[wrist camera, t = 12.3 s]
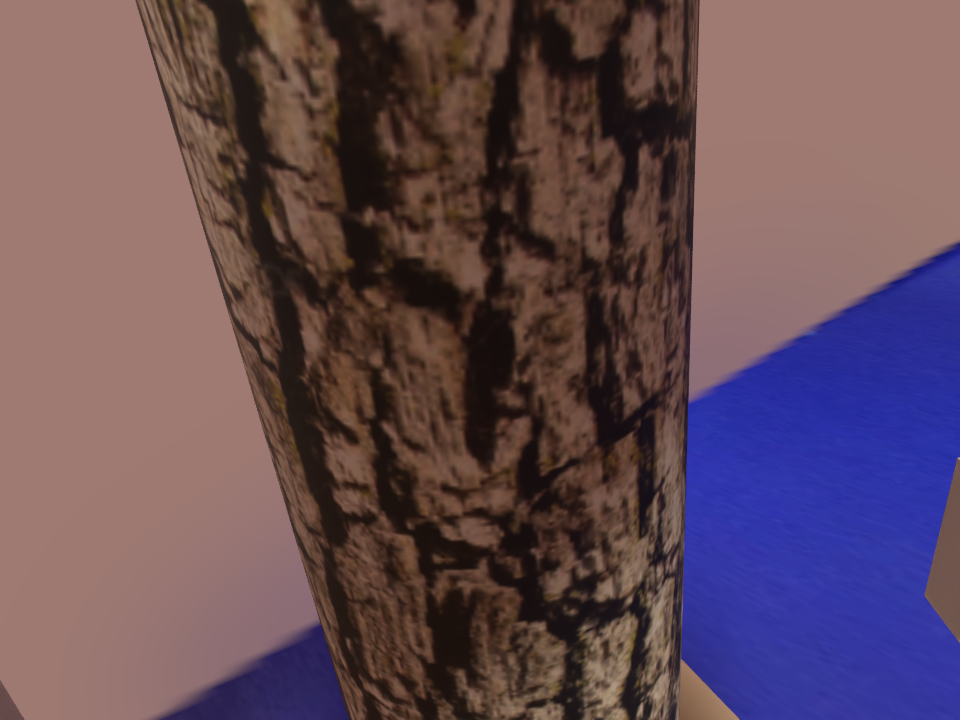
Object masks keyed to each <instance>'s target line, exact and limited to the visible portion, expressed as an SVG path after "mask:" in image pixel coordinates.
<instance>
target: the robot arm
mask: <svg viewBox="0 0 960 720" xmlns="http://www.w3.org/2000/svg"><path fill="white" fill-rule="evenodd" d="M924 596H925V597H926V599H927V600H928V601H929V603H930V604H931V605H932V607H933V608H934V609H935V611H936V612H937V613H938V615H939V616H940V617H941V619H942V620H943V621H944V623H945V624H946V625H947V627H948V628H949V629H950V631H951V632H952V633H953V635H954V636H955V637H956V639H957V640H958V641H959V643H960V458H957V462H956V466H955V470H954V474H953V479H952V483H951V487H950V491H949V495H948V499H947V504H946V508H945V512H944V516H943V520H942V524H941V529H940V533H939V537H938V541H937V545H936V549H935V554H934V558H933V562H932V566H931V570H930V574H929V579H928V583H927V587H926V591H925V595H924ZM0 720H24V718H23V717H22V715H21V714H20V712H19V710H18V709H17V707H16V705H15V704H14V702H13V701H12V699H11V697H10V695H9V694H8V692H7V691H6V689H5V688H4V686H3V684H2V682H1V681H0Z"/></svg>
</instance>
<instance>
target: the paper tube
mask: <svg viewBox="0 0 960 720" xmlns="http://www.w3.org/2000/svg"><path fill="white" fill-rule="evenodd" d="M699 2H700V0H136V3H137V7H138V10H139V13H140V17H141V20H142V23H143V26H144V30H145V33H146V37H147V40H148V44H149V47H150V50H151V54H152V57H153V60H154V64H155V67H156V71H157V73H158V77H159V81H160V84H161V87H162V91H163V94H164V98H165V101H166V104H167V108H168V111H169V114H170V118H171V121H172V124H173V128H174V130H175V135H176V138H177V141H178V145H179V148H180V151H181V155H182V158H183V161H184V165H185V168H186V171H187V175H188V178H189V182H190V185H191V188H192V191H193V195H194V198H195V201H196V205H197V208H198V212H199V215H200V219H201V222H202V225H203V229H204V232H205V235H206V239H207V242H208V246H209V249H210V252H211V255H212V259H213V262H214V266H215V269H216V272H217V276H218V279H219V282H220V286H221V289H222V293H223V296H224V299H225V303H226V306H227V310H228V313H229V316H230V320H231V323H232V326H233V330H234V333H235V336H236V340H237V343H238V346H239V350H240V353H241V357H242V360H243V363H244V367H245V370H246V374H247V377H248V380H249V384H250V387H251V390H252V393H253V397H254V401H255V404H256V407H257V411H258V414H259V417H260V421H261V424H262V427H263V431H264V434H265V438H266V441H267V444H268V448H269V451H270V454H271V458H272V461H273V464H274V468H275V471H276V475H277V478H278V481H279V485H280V488H281V491H282V495H283V498H284V502H285V505H286V508H287V511H288V515H289V518H290V521H291V525H292V528H293V532H294V535H295V538H296V542H297V545H298V549H299V552H300V555H301V559H302V562H303V565H304V569H305V572H306V575H307V579H308V582H309V586H310V589H311V592H312V596H313V599H314V602H315V606H316V609H317V613H318V616H319V619H320V623H321V626H322V629H323V633H324V636H325V640H326V643H327V646H328V650H329V653H330V656H331V660H332V663H333V666H334V670H335V673H336V677H337V680H338V683H339V687H340V690H341V693H342V697H343V700H344V704H345V707H346V710H347V714H348V717H349V720H679V715H680V680H681V644H682V608H683V573H684V537H685V501H686V466H687V430H688V394H689V359H690V320H691V287H692V286H691V285H692V251H693V216H694V180H695V143H696V108H697V73H698V38H699Z"/></svg>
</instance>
